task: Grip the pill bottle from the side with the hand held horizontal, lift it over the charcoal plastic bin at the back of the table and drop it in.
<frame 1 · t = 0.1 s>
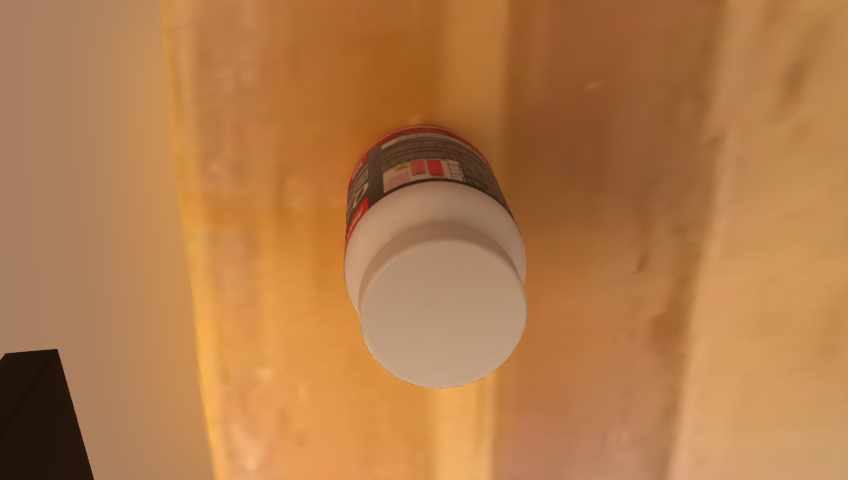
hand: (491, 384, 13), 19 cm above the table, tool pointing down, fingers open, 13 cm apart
pill bottle: (421, 192, 31), on the table
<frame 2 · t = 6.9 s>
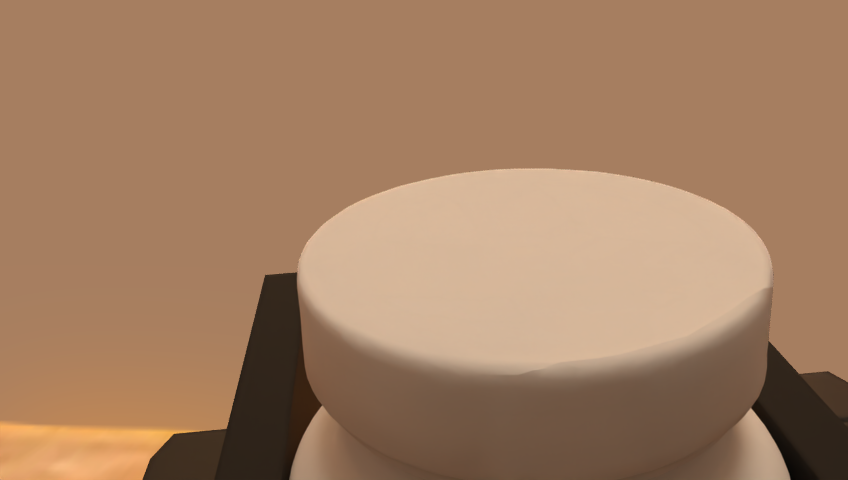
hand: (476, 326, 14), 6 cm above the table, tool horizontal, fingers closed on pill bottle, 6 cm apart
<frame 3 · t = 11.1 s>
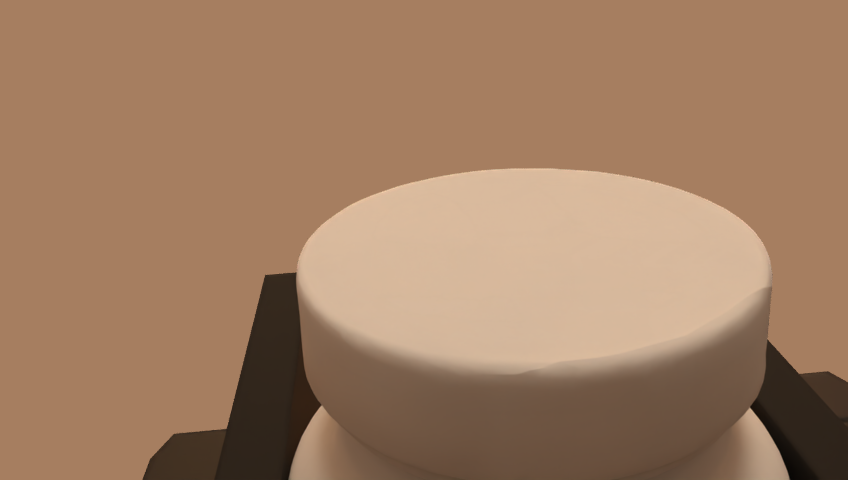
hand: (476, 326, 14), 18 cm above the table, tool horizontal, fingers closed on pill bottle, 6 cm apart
when the fingers open (10 cm above the table, at t = 15.4 s): pill bottle drops 3 cm, resting on bin.
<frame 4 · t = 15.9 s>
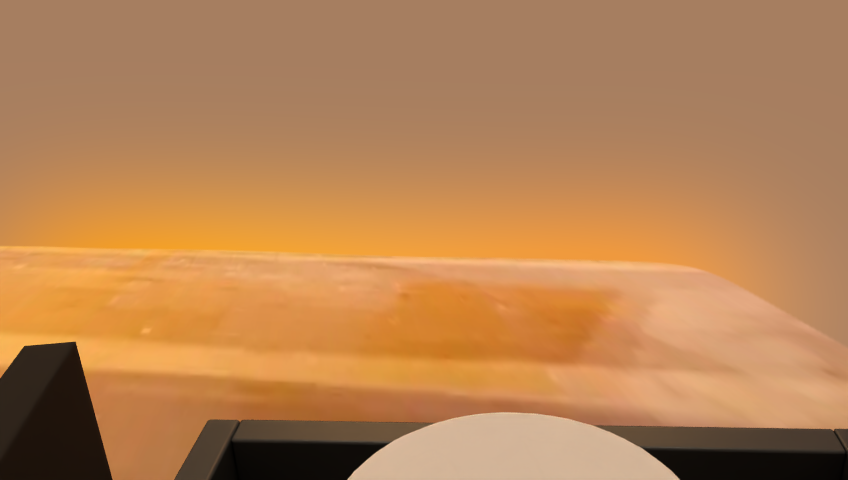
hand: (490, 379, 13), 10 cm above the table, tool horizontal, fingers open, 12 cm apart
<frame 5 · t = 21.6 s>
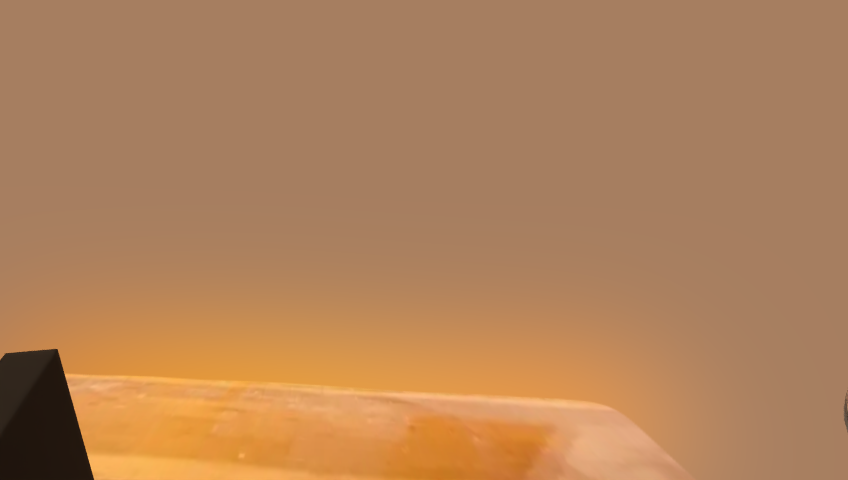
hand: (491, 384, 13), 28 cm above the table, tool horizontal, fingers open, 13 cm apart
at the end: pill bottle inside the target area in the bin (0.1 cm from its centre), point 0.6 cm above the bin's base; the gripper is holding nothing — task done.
